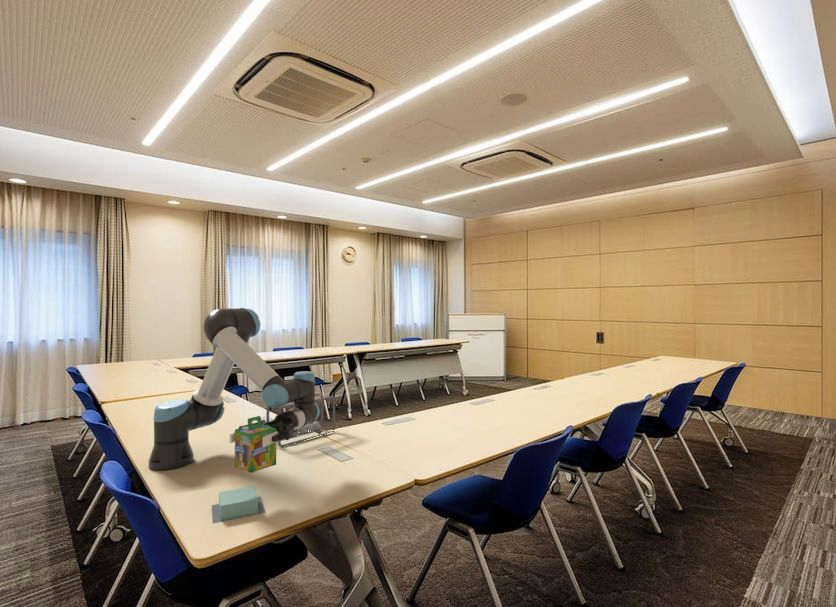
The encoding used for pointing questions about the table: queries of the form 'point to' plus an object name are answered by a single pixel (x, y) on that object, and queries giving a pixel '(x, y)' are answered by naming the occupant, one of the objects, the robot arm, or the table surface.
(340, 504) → the table surface
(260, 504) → the mat
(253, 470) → the chalk box
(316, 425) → the newton's cradle
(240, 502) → the pedestal
